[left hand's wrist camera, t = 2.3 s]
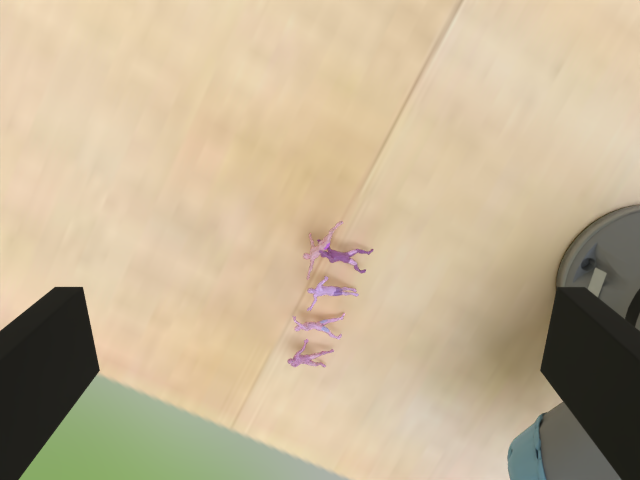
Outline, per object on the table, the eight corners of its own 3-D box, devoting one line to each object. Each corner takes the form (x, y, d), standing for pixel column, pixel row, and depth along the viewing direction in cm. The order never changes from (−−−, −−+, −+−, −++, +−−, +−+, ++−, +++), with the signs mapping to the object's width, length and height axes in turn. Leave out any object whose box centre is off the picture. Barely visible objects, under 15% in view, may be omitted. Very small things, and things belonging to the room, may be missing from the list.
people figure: (334, 385, 49) (269, 381, 45) (316, 350, 53) (256, 345, 50) (403, 239, 43) (335, 222, 39) (376, 215, 48) (313, 198, 44)
